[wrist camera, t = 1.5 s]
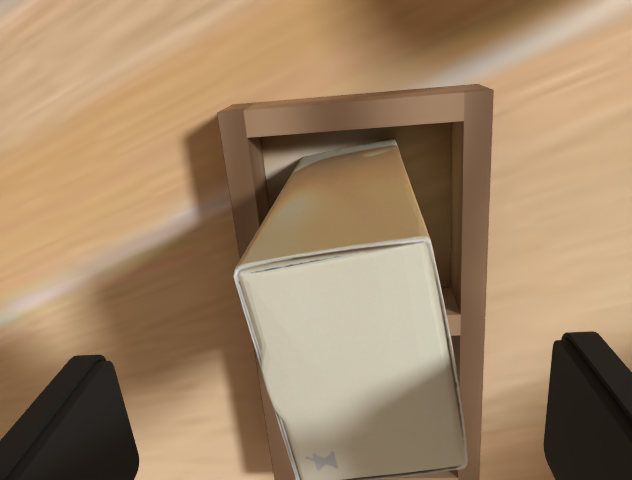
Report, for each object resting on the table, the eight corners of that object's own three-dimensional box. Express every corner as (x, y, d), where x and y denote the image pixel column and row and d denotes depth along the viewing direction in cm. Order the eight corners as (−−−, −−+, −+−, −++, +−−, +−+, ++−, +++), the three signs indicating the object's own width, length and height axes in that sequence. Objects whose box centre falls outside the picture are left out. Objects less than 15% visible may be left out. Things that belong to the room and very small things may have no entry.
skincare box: (419, 266, 23) (477, 483, 12) (327, 282, 24) (298, 501, 13) (395, 128, 21) (438, 233, 10) (295, 150, 22) (224, 272, 10)
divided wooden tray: (477, 84, 20) (493, 89, 18) (468, 454, 27) (478, 493, 25) (232, 104, 21) (217, 112, 19) (283, 456, 28) (276, 493, 26)
